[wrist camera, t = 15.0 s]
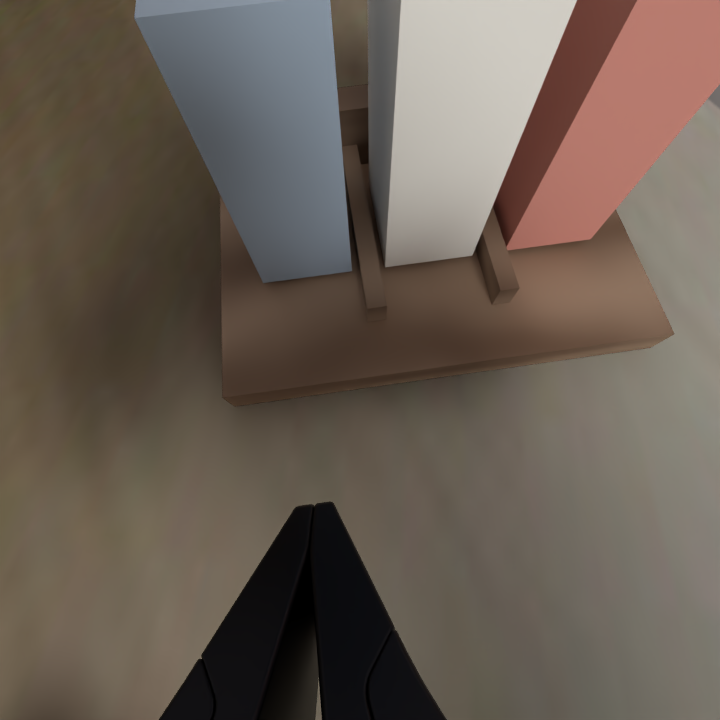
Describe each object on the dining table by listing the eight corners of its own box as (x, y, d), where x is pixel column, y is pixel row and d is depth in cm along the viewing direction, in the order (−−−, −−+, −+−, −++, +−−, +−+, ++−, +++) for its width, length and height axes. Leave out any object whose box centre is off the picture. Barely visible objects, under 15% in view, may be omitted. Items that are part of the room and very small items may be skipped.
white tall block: (472, 255, 17) (590, -35, 8) (384, 267, 17) (401, -13, 8) (448, 172, 19) (522, -145, 10) (368, 182, 19) (367, -129, 10)
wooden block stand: (650, 347, 18) (738, 298, 13) (234, 406, 17) (190, 374, 13) (558, 141, 22) (603, 55, 18) (229, 183, 22) (195, 105, 17)
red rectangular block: (590, 239, 18) (842, -64, 8) (504, 250, 17) (660, -44, 8) (555, 158, 19) (730, -169, 10) (477, 168, 19) (579, -153, 10)
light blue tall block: (351, 271, 17) (329, -5, 8) (263, 283, 17) (134, 17, 8) (338, 185, 19) (307, -123, 10) (258, 196, 19) (148, -106, 10)
